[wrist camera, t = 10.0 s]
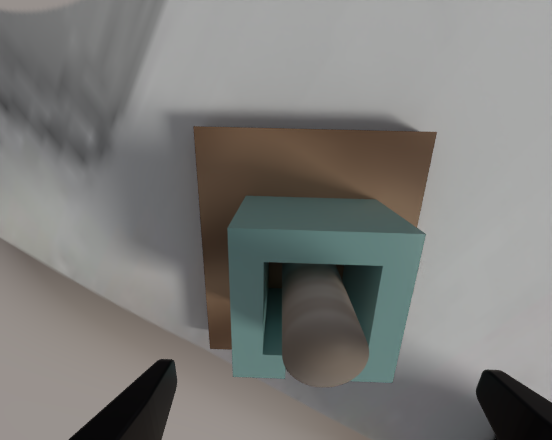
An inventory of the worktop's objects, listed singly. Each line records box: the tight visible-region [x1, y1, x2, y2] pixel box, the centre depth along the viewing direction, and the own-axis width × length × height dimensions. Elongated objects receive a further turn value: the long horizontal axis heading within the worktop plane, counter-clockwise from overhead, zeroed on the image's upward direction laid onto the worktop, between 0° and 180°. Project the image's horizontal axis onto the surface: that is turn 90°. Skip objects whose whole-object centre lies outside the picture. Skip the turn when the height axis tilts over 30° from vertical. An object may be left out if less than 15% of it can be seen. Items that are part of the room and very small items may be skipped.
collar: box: [227, 196, 426, 383], centre depth 13 cm, size 7×7×5 cm
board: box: [193, 126, 437, 387], centre depth 12 cm, size 14×12×8 cm
